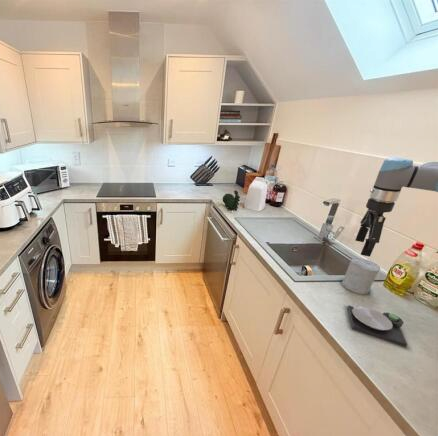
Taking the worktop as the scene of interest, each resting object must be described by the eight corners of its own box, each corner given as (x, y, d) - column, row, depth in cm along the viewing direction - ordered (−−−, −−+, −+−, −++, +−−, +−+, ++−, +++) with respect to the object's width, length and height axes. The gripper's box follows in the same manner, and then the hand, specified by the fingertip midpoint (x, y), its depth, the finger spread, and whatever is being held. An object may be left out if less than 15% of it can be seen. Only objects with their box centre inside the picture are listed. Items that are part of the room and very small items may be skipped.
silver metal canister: (373, 296, 101) (385, 272, 96) (346, 291, 104) (356, 268, 99) (362, 282, 109) (373, 260, 104) (338, 278, 112) (347, 256, 107)
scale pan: (387, 314, 88) (387, 313, 88) (396, 335, 79) (397, 334, 79) (350, 303, 93) (350, 302, 93) (355, 322, 84) (355, 321, 84)
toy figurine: (240, 215, 187) (229, 202, 209) (245, 193, 178) (233, 182, 199) (228, 215, 186) (218, 202, 208) (232, 193, 177) (222, 182, 199)
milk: (244, 207, 198) (249, 177, 187) (250, 204, 205) (255, 175, 195) (258, 211, 190) (264, 180, 179) (264, 208, 197) (270, 177, 187)
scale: (397, 322, 88) (400, 316, 87) (409, 348, 78) (413, 342, 77) (347, 306, 95) (349, 301, 94) (352, 329, 85) (355, 323, 84)
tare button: (396, 318, 87) (397, 315, 86) (398, 322, 85) (399, 320, 84) (386, 315, 88) (388, 312, 87) (388, 319, 86) (390, 317, 85)
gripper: (363, 190, 101) (346, 234, 110) (376, 207, 82) (355, 259, 90) (386, 193, 98) (367, 238, 106) (406, 211, 78) (381, 265, 87)
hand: (362, 247), depth 98 cm, fingers open, 13 cm apart
